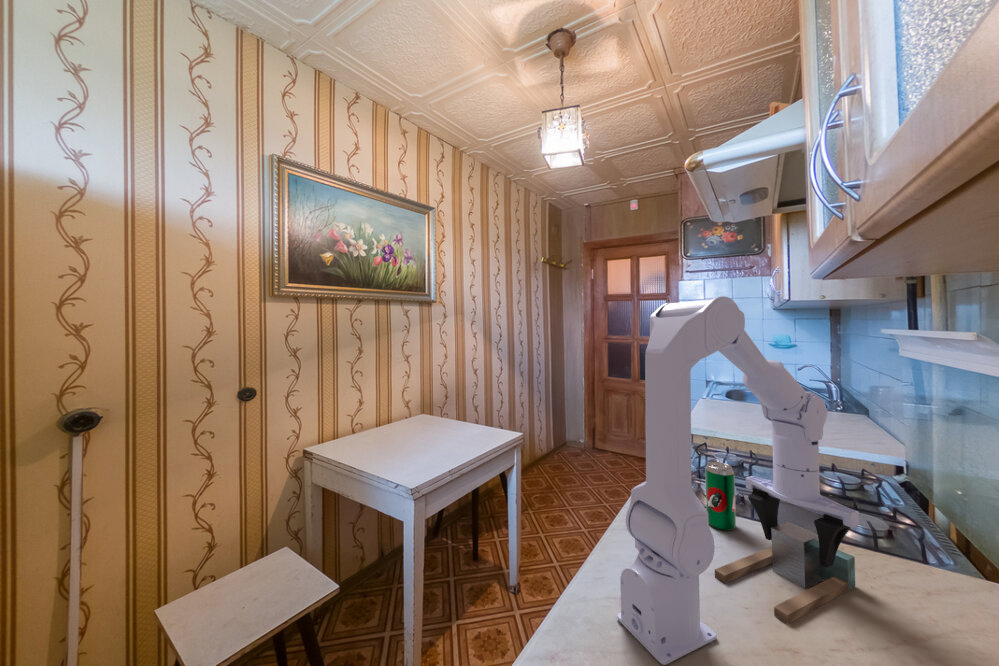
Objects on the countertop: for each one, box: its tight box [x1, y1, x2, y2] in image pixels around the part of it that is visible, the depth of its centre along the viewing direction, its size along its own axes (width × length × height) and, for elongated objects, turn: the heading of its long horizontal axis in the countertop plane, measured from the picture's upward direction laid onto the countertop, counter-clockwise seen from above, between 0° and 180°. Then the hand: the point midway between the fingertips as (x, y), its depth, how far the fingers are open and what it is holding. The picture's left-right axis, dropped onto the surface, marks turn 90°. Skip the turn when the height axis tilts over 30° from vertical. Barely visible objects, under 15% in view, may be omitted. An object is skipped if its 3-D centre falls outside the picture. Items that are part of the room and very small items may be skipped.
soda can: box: [704, 461, 737, 532], centre depth 72 cm, size 5×5×12 cm
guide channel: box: [714, 546, 856, 625], centre depth 55 cm, size 17×10×4 cm, turn 113°
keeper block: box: [771, 521, 823, 590], centre depth 57 cm, size 4×4×7 cm
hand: (797, 550), depth 57 cm, fingers open, 7 cm apart
